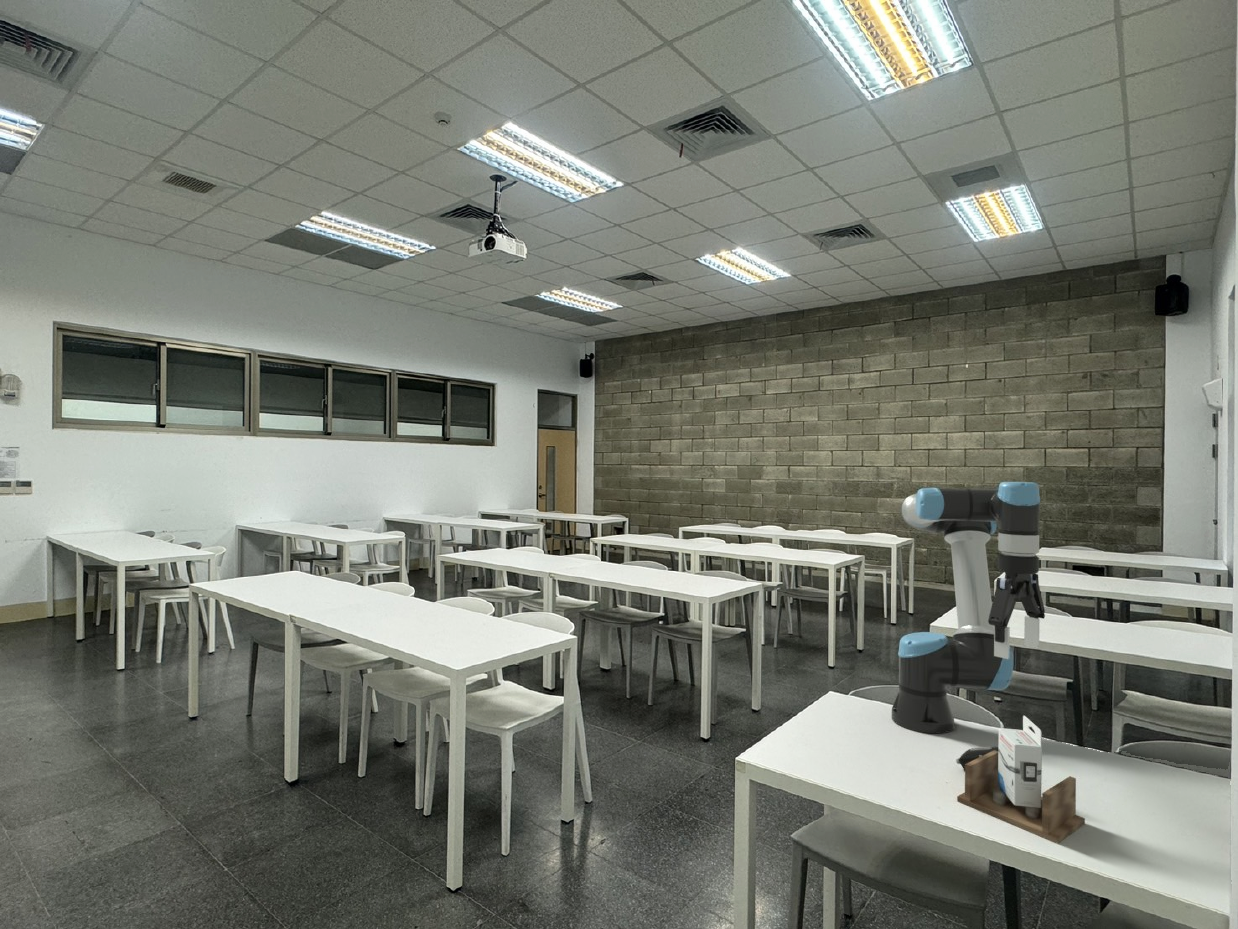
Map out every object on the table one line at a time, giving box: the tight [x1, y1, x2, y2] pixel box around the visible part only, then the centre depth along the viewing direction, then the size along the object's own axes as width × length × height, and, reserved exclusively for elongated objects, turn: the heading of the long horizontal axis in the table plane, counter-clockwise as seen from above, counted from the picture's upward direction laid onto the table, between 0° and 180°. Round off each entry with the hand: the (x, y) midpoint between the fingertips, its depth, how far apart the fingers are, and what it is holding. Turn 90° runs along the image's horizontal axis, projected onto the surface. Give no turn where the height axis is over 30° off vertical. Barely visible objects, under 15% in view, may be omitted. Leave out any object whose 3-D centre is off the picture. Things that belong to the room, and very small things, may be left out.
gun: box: [955, 746, 999, 771], centre depth 139 cm, size 3×16×10 cm
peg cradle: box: [956, 750, 1086, 844], centre depth 127 cm, size 12×18×8 cm, turn 35°
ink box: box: [997, 715, 1043, 808], centre depth 127 cm, size 9×5×15 cm, turn 169°
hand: (1017, 652), depth 139 cm, fingers open, 13 cm apart
